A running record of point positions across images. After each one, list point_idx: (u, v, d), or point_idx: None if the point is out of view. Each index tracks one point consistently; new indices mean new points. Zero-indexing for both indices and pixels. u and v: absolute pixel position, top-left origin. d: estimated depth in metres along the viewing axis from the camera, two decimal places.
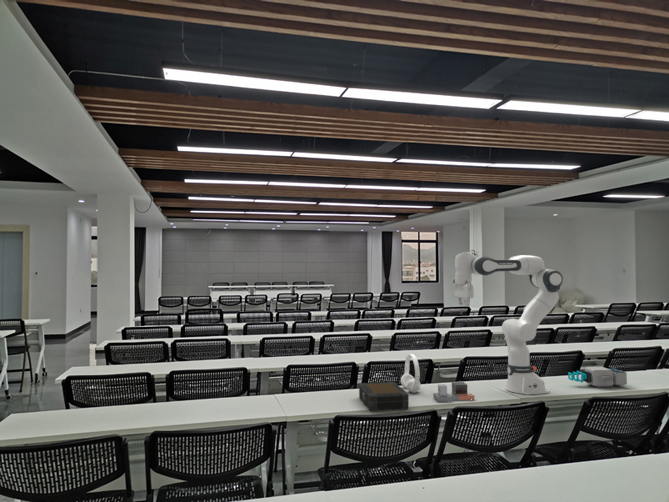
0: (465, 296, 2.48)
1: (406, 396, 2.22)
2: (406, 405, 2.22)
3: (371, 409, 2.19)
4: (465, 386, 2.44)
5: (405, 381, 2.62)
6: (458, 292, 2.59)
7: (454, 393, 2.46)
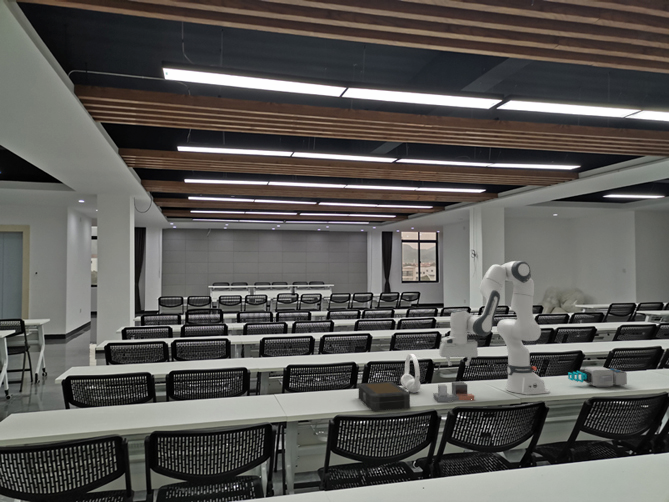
0: (472, 355, 2.47)
1: (408, 395, 2.23)
2: (408, 404, 2.23)
3: (373, 409, 2.19)
4: (465, 386, 2.44)
5: (405, 381, 2.62)
6: (453, 353, 2.46)
7: (454, 393, 2.46)
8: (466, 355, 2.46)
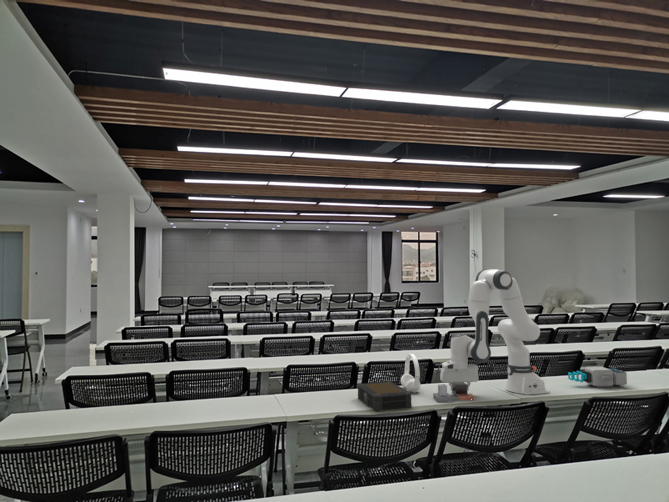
0: (473, 380, 2.46)
1: (409, 395, 2.24)
2: (409, 404, 2.24)
3: (376, 409, 2.18)
4: (465, 386, 2.44)
5: (405, 381, 2.62)
6: (454, 378, 2.46)
7: (454, 393, 2.46)
8: (467, 380, 2.46)
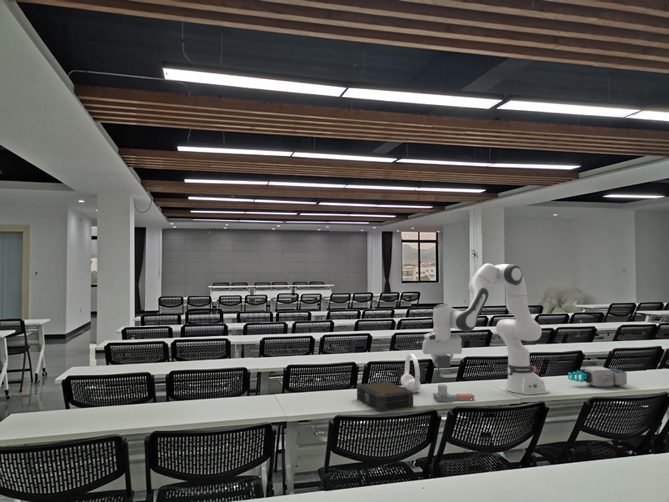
0: (456, 352, 2.37)
1: (411, 394, 2.25)
2: (411, 403, 2.25)
3: (380, 410, 2.18)
4: (448, 358, 2.35)
5: (405, 381, 2.62)
6: (436, 349, 2.37)
7: (436, 365, 2.37)
8: (450, 351, 2.37)
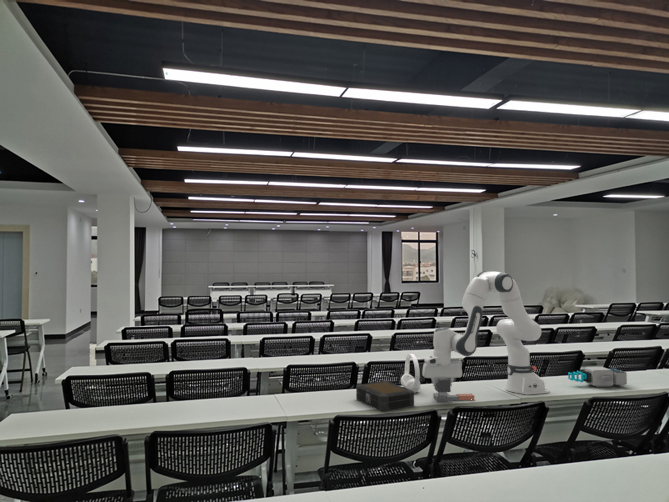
0: (457, 375, 2.37)
1: (412, 393, 2.26)
2: (412, 402, 2.26)
3: (383, 410, 2.18)
4: (448, 381, 2.35)
5: (405, 381, 2.62)
6: (436, 373, 2.36)
7: (437, 389, 2.36)
8: (450, 375, 2.36)
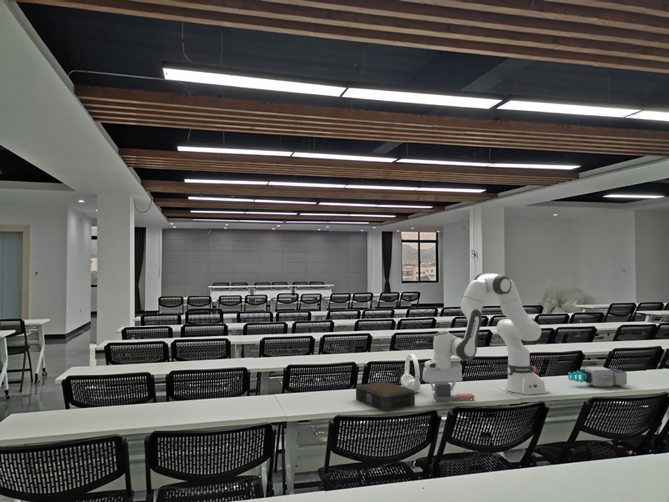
0: (457, 380, 2.37)
1: (413, 393, 2.28)
2: (413, 402, 2.27)
3: (386, 410, 2.18)
4: (448, 386, 2.35)
5: (405, 381, 2.62)
6: (436, 377, 2.36)
7: (437, 393, 2.36)
8: (450, 379, 2.36)
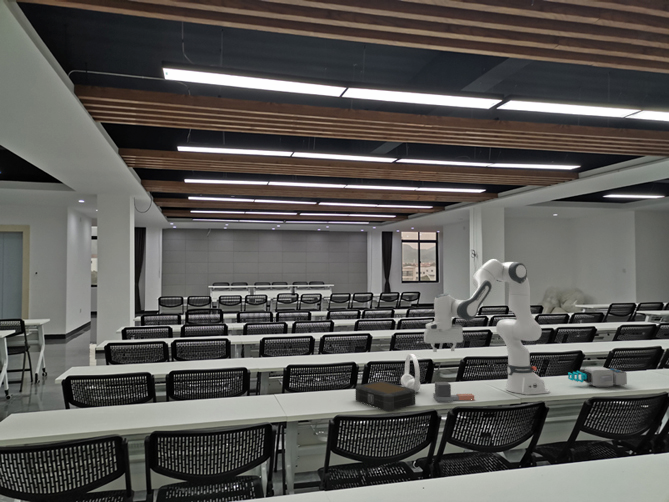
0: (458, 340, 2.40)
1: (414, 392, 2.29)
2: (414, 401, 2.29)
3: (389, 409, 2.18)
4: (448, 386, 2.35)
5: (405, 381, 2.62)
6: (438, 338, 2.39)
7: (437, 393, 2.36)
8: (451, 340, 2.39)
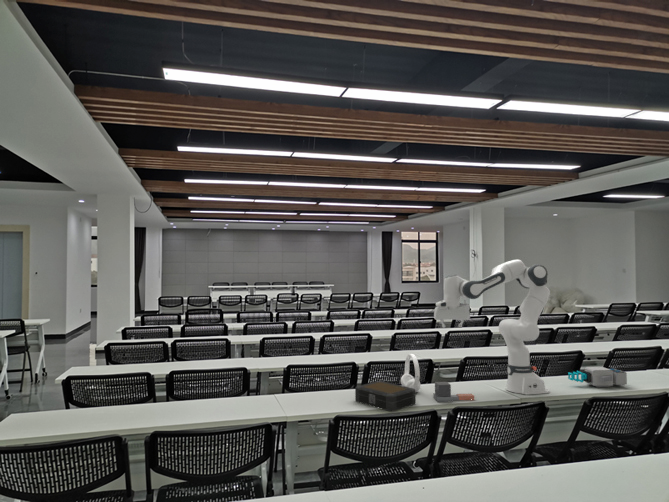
0: (465, 318, 2.62)
1: (414, 391, 2.30)
2: (414, 400, 2.30)
3: (392, 409, 2.19)
4: (448, 386, 2.35)
5: (405, 381, 2.62)
6: (447, 315, 2.61)
7: (437, 393, 2.36)
8: (459, 317, 2.61)
